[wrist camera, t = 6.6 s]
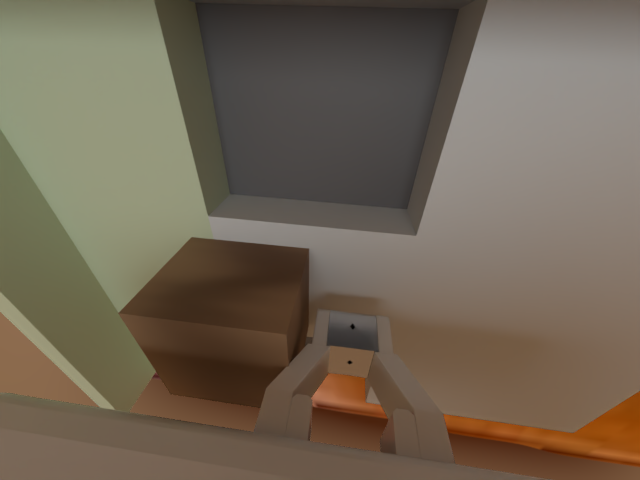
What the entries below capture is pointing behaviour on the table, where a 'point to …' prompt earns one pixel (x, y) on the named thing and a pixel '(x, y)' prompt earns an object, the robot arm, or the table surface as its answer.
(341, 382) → the table surface
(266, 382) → the walnut block
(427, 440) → the robot arm
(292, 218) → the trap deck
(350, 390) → the table surface
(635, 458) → the table surface
